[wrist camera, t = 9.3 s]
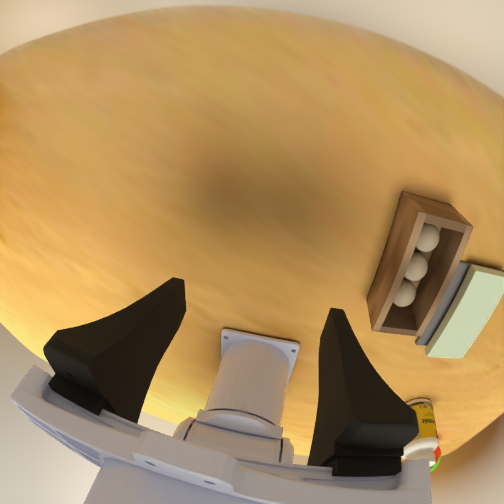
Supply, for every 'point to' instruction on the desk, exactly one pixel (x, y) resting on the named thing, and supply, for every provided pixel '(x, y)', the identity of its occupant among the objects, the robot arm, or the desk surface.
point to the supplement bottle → (423, 433)
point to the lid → (467, 313)
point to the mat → (446, 302)
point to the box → (416, 265)
